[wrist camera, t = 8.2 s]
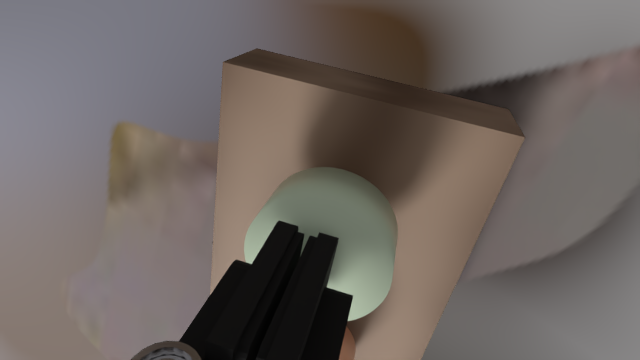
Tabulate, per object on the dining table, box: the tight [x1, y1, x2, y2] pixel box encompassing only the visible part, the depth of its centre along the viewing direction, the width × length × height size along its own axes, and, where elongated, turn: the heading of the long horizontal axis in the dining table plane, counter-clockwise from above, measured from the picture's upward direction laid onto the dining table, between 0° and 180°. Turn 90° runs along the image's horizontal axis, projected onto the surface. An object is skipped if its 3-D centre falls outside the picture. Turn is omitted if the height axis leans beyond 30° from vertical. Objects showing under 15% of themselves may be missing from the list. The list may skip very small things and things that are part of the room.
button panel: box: [210, 49, 525, 360], centre depth 19 cm, size 10×22×3 cm, turn 170°
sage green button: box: [244, 167, 398, 321], centre depth 12 cm, size 4×4×2 cm
